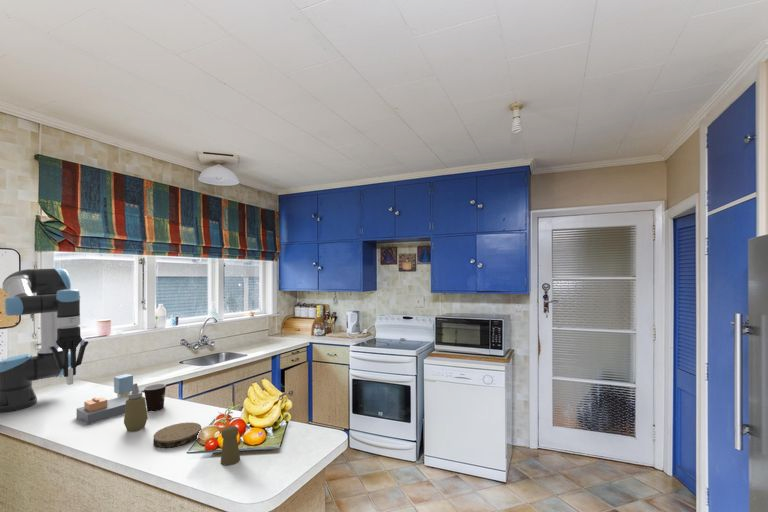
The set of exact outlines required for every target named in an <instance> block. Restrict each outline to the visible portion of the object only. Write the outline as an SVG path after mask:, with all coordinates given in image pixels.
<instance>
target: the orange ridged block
mask: <svg viewBox="0 0 768 512" xmlns="http://www.w3.org/2000/svg"><path fill="white" fill-rule="evenodd" d="M107 400H108V399H106V398H104V397H97V398H96V397H93V398H91V399H89V400H85V401H84V403H83V407H84V409H86V410H88V411H90V412H91V411H94V410H98V409H101V408H105V407H108V405H107Z"/></svg>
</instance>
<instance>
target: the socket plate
mask: <svg viewBox="0 0 768 512" xmlns="http://www.w3.org/2000/svg"><path fill="white" fill-rule="evenodd" d="M128 399H129V398H127V397H124V396H122V397H118V398H117V397H115V398H111V399H107V405H108V407H105V408H101V409H98V410H94V411H91V412H90V411H88V410H86V409H84V406H82V407H78V408H76V419H78V420H80V422H83V423H84V424H86V425H91V424H95V423H98V422H101V421H105V420H107V419H111V418H115V417H118V416H120V415H121V416H122V415H125V405H126V401H127V400H128Z"/></svg>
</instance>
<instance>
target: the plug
mask: <svg viewBox="0 0 768 512" xmlns="http://www.w3.org/2000/svg"><path fill="white" fill-rule="evenodd" d="M133 384H134V375H133V374H130V373H125V374H120V375H116V376H113V392H114V393H115V394H116V395H117V396H116V398H118V397H122V396H124V397H127V398H129V396H128V394H129V393H131V392H132V388H133Z"/></svg>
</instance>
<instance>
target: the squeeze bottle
mask: <svg viewBox="0 0 768 512" xmlns="http://www.w3.org/2000/svg"><path fill="white" fill-rule="evenodd" d="M128 396H129V399H128V400H127V401H126V405H125V414H123V415H124V417H123V425H124V426H125V430H126V431H127V432H128V433H130V432H131V433H133V432H138V431H141V430H143V429H145V427H146V426H147V425H146V424H147V421H148V411H147V406H146V399H145V396H143V391H142V390H139V386H138V383H135V382H134V383H133V388H132V391H131V392H130V393H129V394H128Z"/></svg>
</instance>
